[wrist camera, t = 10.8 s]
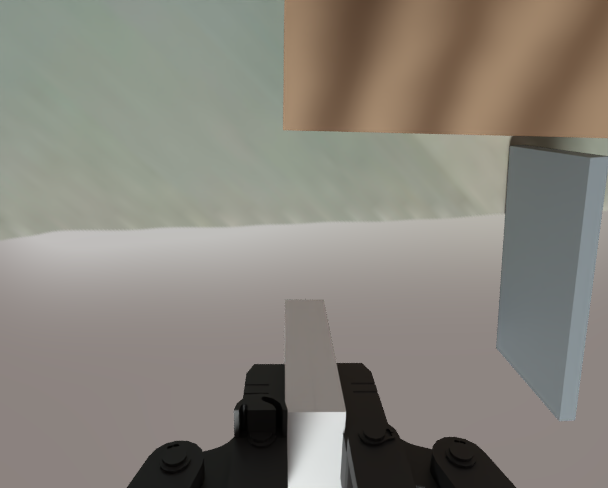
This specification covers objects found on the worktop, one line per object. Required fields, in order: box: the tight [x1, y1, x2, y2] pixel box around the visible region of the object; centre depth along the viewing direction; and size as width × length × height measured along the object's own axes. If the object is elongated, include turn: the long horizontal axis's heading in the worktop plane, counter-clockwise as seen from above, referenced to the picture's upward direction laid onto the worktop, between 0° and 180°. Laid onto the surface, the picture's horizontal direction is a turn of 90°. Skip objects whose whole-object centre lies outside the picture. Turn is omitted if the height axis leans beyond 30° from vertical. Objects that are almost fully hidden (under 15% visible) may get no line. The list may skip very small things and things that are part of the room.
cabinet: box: [283, 0, 608, 138], centre depth 31 cm, size 20×14×12 cm
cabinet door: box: [496, 145, 608, 421], centre depth 36 cm, size 20×3×11 cm, turn 3°
